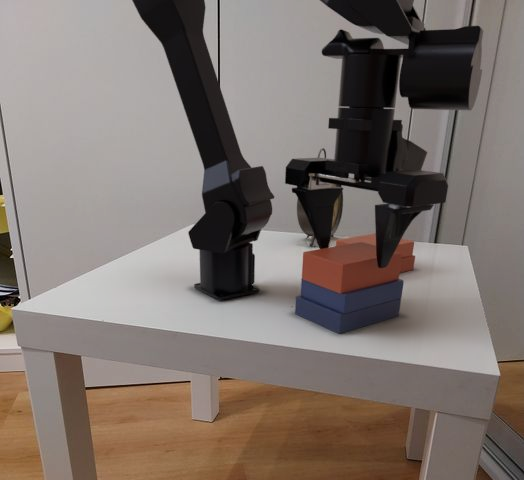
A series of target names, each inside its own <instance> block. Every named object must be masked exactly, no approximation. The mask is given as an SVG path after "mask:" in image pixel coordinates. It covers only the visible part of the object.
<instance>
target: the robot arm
mask: <svg viewBox="0 0 524 480" xmlns="http://www.w3.org/2000/svg"><path fill="white" fill-rule="evenodd" d="M131 1H132V3H133V5H134V7H135V9H136V11H137V13H138V15H139V17H140V19H141V20H142V22H143V23H144V24H145V26H147V28H148V29H149V30H150V31H151V32H152V34H153V35H154V36H155V37H156V38H157V40H158V41H159V42H160V44H161V46H162V48H163V50H164V53H165V57H166V60H167V62H168V65H169V68H170V71H171V74H172V78H173V80H174V83H175V87H176V89H177V92H178V95H179V97H180V101H181V104H182V106H183V110H184V112H185V115H186V118H187V121H188V125H189V127H190V130H191V133H192V137H193V139H194V142H195V146H196V148H197V151H198V154H199V157H200V160H201V163H202V166H203V178H202V179H203V180H202V189H201V198H202V203H203V208H204V214H203V215H202V217H200V218H199V219H198V221H197V222H196V223H195V224H194V225H193V226H192V227H191V228H190V229H189V230H188V232H187V234H188V237H189V241H190V244H191V247H192V248H193V250H198V251H199V282H197V283H194V284H193V288H194V289H196V290H198V291H200V292H201V293H204V294H206V295H207V296H209V297H211V298H214V299H215V300H217V301H223V300H228V299H232V298H238V297H242V296H246V295H247V296H248V295H251V294H255V293H256V294H257V293H259V292H260V288H259V287H258V286H255V275H256V274H255V273H256V271H255V268H256V254H254V252H253V247H254V243H252V242H256V241H258V239H259V237H260V234H261V232H262V229H263V228H265V227H266V225H267V224H268V223H269V221H270V218H271V217H272V215H273V203H272V200H273V199H275V195H274V193H273V192H272V191H271V189H270V187H269V184H268V183H269V182H268V179H267V178H268V177H267V173H266V170H265V167H264V166H263V165H260V166H259V165H258V166H253V167H252V166H251V165H250V164H249V163H248V161H247V160H246V159H245V158H244V156H243V154H242V151H241V149H240V144H239V142H238V139H237V135H236V133H235V129H234V126H233V122H232V120H231V116H230V114H229V111H228V107H227V105H226V101H225V98H224V94H223V92H222V89H221V86H220V83H219V80H218V77H217V74H216V70H215V67H214V64H213V61H212V57H211V55H210V52H209V49H208V45H207V43H206V39H205V35H204V25H205V24H204V23H205V14H206V2H205V0H131ZM319 1H320V2H321V3H322V4H324V5H325V7H327V8H329V9H330V10H331V11H333V12H334V13H336V14H337V15H338V16H340V17H342V18H343V19H345V20H346V21H348V22H349V23H350V24H352V25H354V26H357V27H359V28H361V29H363V30H366V31H369V32H371V33H373V34H377V35H378V34H379V35H385V36H386V37H388V38H391V39H393V40H396V41H398V42H400V43H403V44H405V45H407V46H408V47H407V48H385V47H384V43H383V41H382V40H381V38H379V37H360V38H359V37H358V38H357V37H355V38H354V37H352V35H351V33H350V32H349V31H347V30H344V29H339V30H338V31H337V33H336V34H335V35H334V37H333V38H332V39H331V40H330V41H329V42H328V43H327V44H325V46H323V47H322V49H321V55H322V56H323V57H328V58H332V59H336V60H341V67H340V68H341V69H340V79H339V80H340V82H339V93H338V105H337V106H338V107H337V117H329V118H328V128H327V129H331V130H336V133H335V143H334V158H327V157H326V158H325V157H319V158H318V157H303V158H301V157H300V158H291V159H290V160H289V162H288V164H287V165H286V166H285V173H284V174H285V177H284V184H285V185H290V186H295V187H292V188H291V193H293V194H295V195H296V198H297V200H298V199H299V201H300V203H301V206H302V208H303V210H304V212H305V214H306V216H307V218H308V221H309V223H310V226H311V228H312V231H313V233H314V236H315V241H316V244H317V246H318V249H323V248H329V247H330V242H331V238H332V237H331V230H332V222H333V213H334V204H335V202H336V200H337V198H338V197H339V195H340V194H341V192H342V191H344V187H349V188H355V189H361V190H365V191H366V190H367V191H372V192H377V194H378V196H379V198H380V200H381V201H382V203H380V204H374V223H375V225H374V226H375V233H376V256H377V264H378V268H386V267H387V266H388V264H389V262H390V260H391V258H392V256H393V254H394V252H395V250H396V248H397V246H398V244H399V242H400V240H401V239H403V236H404V234H405V233H406V231H407V230H408V228H409V227H410V225H411V223H412V222H413V221H414V219H416V218H417V217H418V216H419V215H420V214H421V213H422V212H426V211H431V210H432V209H433V207H434V205H437V204H445V203H447V196H448V189H449V184H448V181H447V178H446V175H444V172H436V171H430V170H429V171H428V170H423V167H424V163H425V161H426V157H427V155H428V150H425V149H424V148H422V147H421V146H419V145H418V144H415V143H414V142H412V141H411V140H409V139H406V138H404V137H403V130H404V129H403V127H404V126H403V124H402V123H403V122H402V121H403V120H402V119H395V113H396V109H395V108H396V103H397V96H398V95H397V94H398V89H399V95H400V97H401V98H403V99H404V98H407V102H408V106H409V108H410V109H411V110H436V111H437V110H438V111H439V110H440V111H442V110H443V111H472V110H473V109H474V107H475V103H476V102H477V98H478V94H479V89H480V85H481V79H482V73H483V69H482V68H481V65H482V55H483V53H482V52H483V45H482V43H483V37H484V29H483V28H482V27H481V26H480V25H466V26H461V27H458V28H449V29H426V27H425V23H424V22H423V21H422V20H421V18H420V16H419V14H418V12H417V10H416V8H415V6H414V2H415V0H319ZM350 174H351V175H353V177H350ZM332 184H337V185H341V186H342V188H341V187H336V186H332Z"/></svg>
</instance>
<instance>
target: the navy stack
mask: <svg viewBox="0 0 524 480" xmlns="http://www.w3.org/2000/svg"><path fill="white" fill-rule="evenodd" d="M404 283H405V280H403V279H400V278H399V279H398V280H395V281H391V282H387V283H382V284H378V285H374V286H370V287H366V288H362V289H358V290H354V291H350V292H346V293H342V294H340V293H337V292H335V291H332V290H330V289H327V288H324V287H322V286H319V285H316V284H314V283H311V282H308V281H306V280H303V279H302V278H301V282H300V295H296V296H295V309H294V314H295V315H297V316H300V317H301V318H304V319H306V320H307V321H310V322H313V323H315V324H317V325H319V326H321V327H323V328H326V329H328V330H330V331H332V332H334V333H337V334H340V335H341V334H344V333H346V332H347V333H348V332H351V331H353V330H356V329H360V328H363V327H366V326H370V325H373V324H377V323H380V322H384V321H386V320H389V319H392V318H396V317H399V316H400V309H401V304H402V303H401V302H402V296H403V288H404Z"/></svg>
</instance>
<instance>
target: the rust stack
mask: <svg viewBox="0 0 524 480" xmlns="http://www.w3.org/2000/svg"><path fill="white" fill-rule="evenodd" d="M358 242H363V243H367V244H371V245H375V246H376V232H375V233H370V234H363V235H358V236H353V237H346V238H340V239H336V240H335V246H341V245H346V244H352V243H358ZM414 247H415V241H414V240H409V239H405V238H401V240H400V242H399V244H398V246H397V248H396V250H395V251H397V252H401V253H402V258H401V265H400V272H399V274H400V273H404V272H405V273H406V272H409V271H413V270H414V269H415V262H416V261H415V260H416V255H414Z"/></svg>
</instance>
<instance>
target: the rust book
mask: <svg viewBox="0 0 524 480" xmlns="http://www.w3.org/2000/svg"><path fill="white" fill-rule="evenodd" d="M401 258H402V253H401V252H397V251H395V252H394V254H393V256H392V258H391V260H390V262H389V264H388V266H387V267H386V268H378V264H377V256H376V246H375V245H371V244H367V243H363V242H358V243H352V244H346V245H341V246H336V245H335V246H329V248H323V249H320V248H318V249H312V250H307V251H303V252H302V268H301V280H302V279H303V280H306V281H308V282H311V283H314V284H316V285H319V286H322V287H324V288H327V289H330V290H332V291H335V292H337V293H340V294H342V293H346V292H350V291H354V290H358V289H362V288H366V287H370V286H374V285H378V284H382V283H387V282H391V281H395V280H398V279H400V273H399V272H400V265H401Z"/></svg>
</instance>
